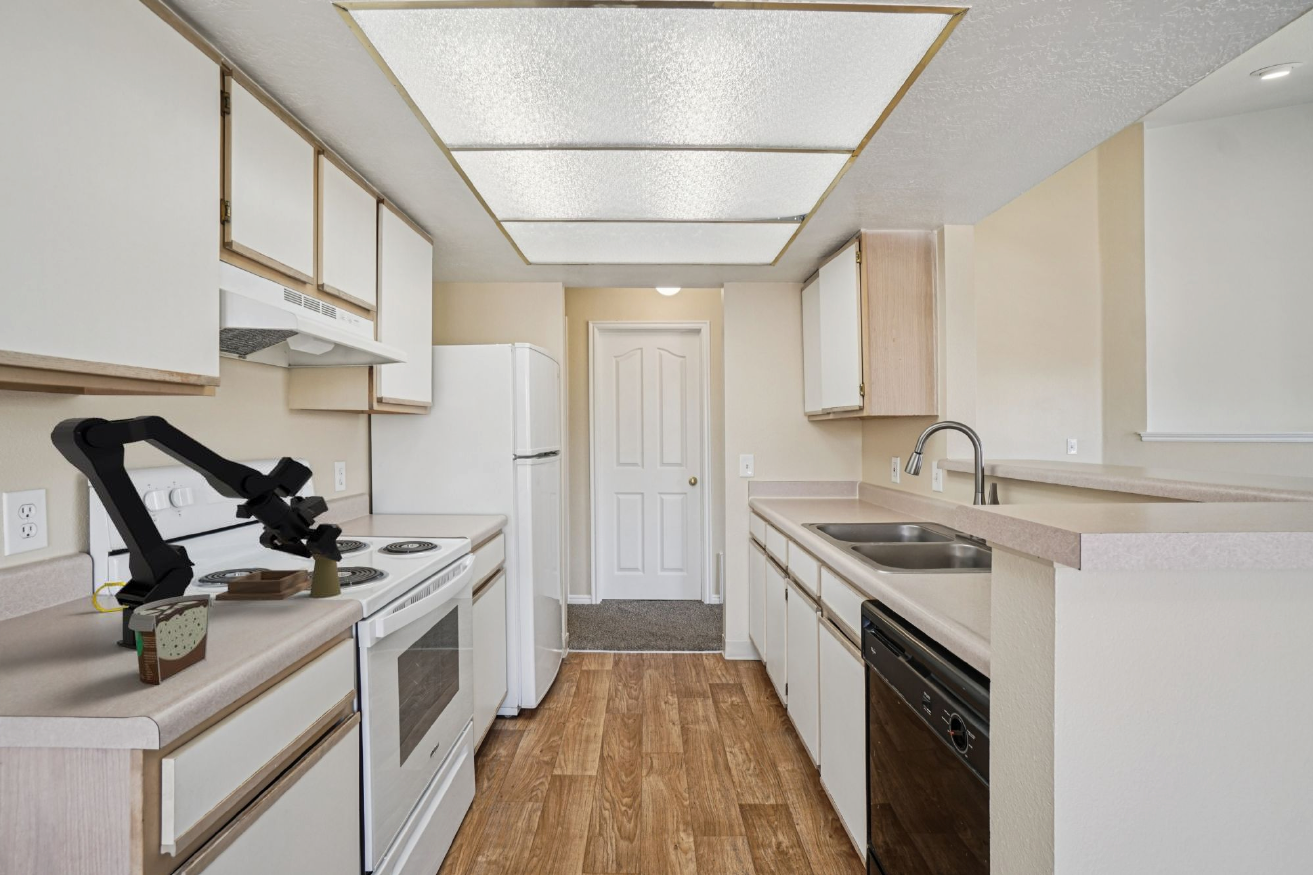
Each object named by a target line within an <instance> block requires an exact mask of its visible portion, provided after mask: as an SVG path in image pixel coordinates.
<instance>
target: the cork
mask: <svg viewBox="0 0 1313 875" xmlns="http://www.w3.org/2000/svg"><path fill="white" fill-rule="evenodd" d="M311 553H312V557H311V558H312V559H313V560H314V565H313V572H312V578H311V579H312V585H311V587H310V594H309V598H313V599H324V598H331V597H335V596H339V595H340V594H342V590H341V585H340V584H341V583H340V576H339V571H338V564H337V563H338V562H337V561H333V560H330V559H327V558H324V557H321V556H318V555H315V554H313V552H311Z"/></svg>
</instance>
